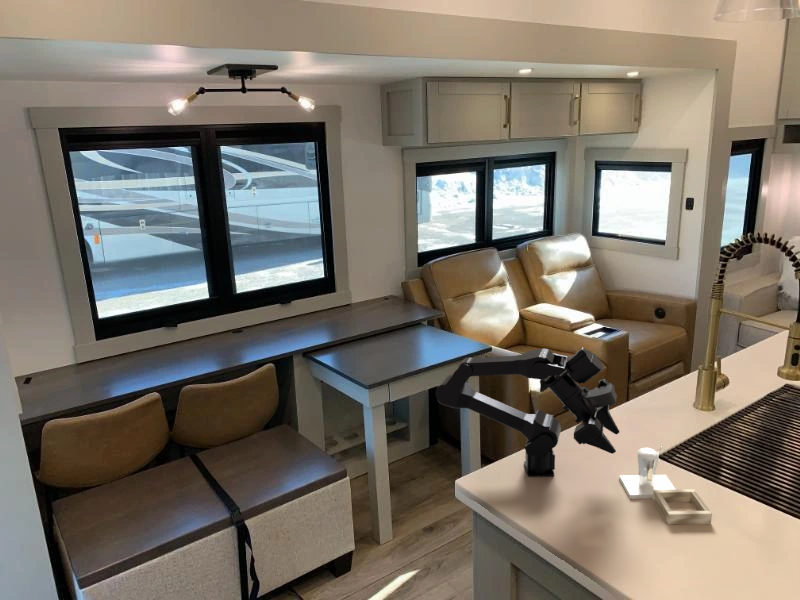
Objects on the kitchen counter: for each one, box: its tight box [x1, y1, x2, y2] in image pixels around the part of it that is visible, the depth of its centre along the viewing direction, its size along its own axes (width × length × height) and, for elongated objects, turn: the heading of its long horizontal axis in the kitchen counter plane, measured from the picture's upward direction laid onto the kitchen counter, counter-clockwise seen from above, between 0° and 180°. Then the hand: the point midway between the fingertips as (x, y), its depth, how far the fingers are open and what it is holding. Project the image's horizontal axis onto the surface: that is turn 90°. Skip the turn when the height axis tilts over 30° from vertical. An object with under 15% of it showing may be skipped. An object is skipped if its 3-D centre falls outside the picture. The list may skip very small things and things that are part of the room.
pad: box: [618, 474, 677, 500], centre depth 143 cm, size 11×8×1 cm
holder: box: [652, 488, 713, 525], centre depth 134 cm, size 9×9×2 cm
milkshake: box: [637, 445, 663, 488], centre depth 142 cm, size 4×5×10 cm
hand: (616, 442), depth 144 cm, fingers open, 9 cm apart
